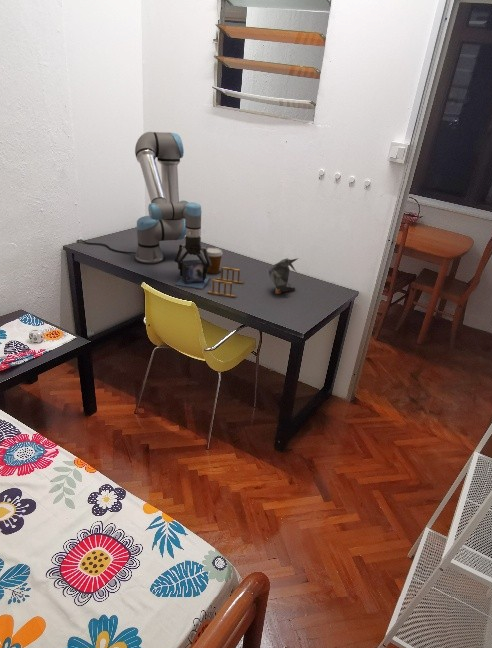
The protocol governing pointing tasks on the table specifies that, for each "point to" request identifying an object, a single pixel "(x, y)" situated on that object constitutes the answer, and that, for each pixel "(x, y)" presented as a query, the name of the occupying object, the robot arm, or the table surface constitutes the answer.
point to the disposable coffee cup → (214, 259)
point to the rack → (225, 282)
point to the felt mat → (193, 284)
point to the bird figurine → (281, 275)
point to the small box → (192, 271)
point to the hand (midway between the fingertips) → (193, 277)
